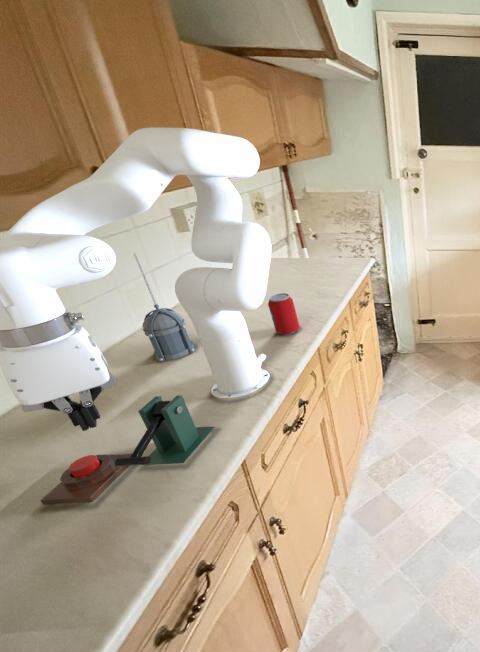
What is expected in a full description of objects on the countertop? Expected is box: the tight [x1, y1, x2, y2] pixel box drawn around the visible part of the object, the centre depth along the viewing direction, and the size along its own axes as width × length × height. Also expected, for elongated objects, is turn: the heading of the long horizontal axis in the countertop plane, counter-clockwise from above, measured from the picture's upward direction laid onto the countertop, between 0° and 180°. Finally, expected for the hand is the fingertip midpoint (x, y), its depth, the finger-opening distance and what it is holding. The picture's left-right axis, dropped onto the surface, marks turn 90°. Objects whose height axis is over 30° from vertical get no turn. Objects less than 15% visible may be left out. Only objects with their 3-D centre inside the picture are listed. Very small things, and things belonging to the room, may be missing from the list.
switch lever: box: [115, 400, 171, 466], centre depth 74 cm, size 12×5×2 cm, turn 5°
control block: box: [39, 453, 132, 506], centre depth 73 cm, size 10×8×4 cm
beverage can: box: [267, 292, 300, 336], centre depth 124 cm, size 7×7×12 cm
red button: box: [68, 454, 101, 477], centre depth 72 cm, size 4×4×2 cm
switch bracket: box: [138, 395, 216, 466], centre depth 79 cm, size 10×8×12 cm
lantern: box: [133, 253, 196, 363], centre depth 108 cm, size 11×11×30 cm
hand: (89, 424), depth 67 cm, fingers closed
